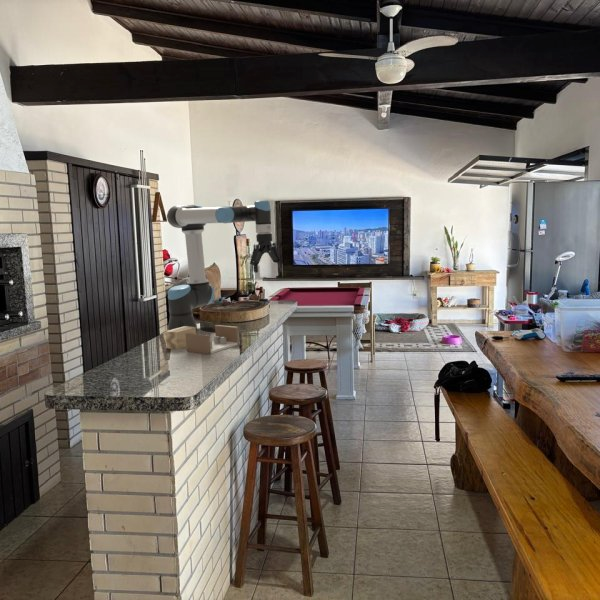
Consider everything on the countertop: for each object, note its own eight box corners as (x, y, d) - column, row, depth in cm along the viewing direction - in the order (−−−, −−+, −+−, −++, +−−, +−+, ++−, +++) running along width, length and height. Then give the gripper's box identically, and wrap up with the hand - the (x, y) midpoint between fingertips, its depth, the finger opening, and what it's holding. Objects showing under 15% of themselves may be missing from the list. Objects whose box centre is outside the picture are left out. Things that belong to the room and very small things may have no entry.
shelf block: (166, 348, 258) (165, 331, 256) (186, 342, 267) (184, 326, 266) (177, 349, 254) (176, 332, 252) (196, 344, 263) (195, 327, 262)
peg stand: (186, 351, 249) (185, 333, 248) (218, 341, 265) (217, 324, 264) (208, 354, 241) (207, 336, 240) (239, 344, 257) (238, 326, 256)
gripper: (252, 234, 259) (255, 280, 263) (286, 231, 279) (288, 274, 282) (240, 235, 264) (243, 280, 267) (274, 231, 284) (276, 274, 287)
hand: (266, 277), depth 275 cm, fingers open, 13 cm apart
